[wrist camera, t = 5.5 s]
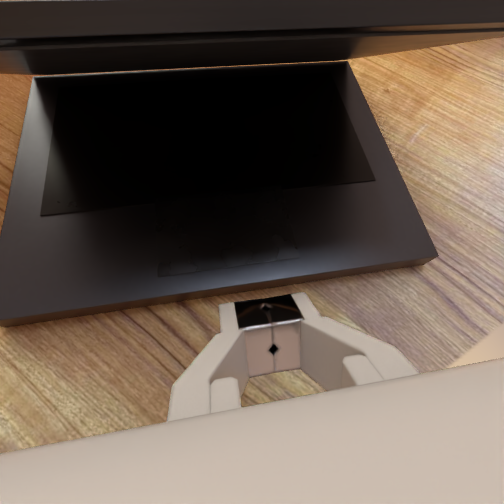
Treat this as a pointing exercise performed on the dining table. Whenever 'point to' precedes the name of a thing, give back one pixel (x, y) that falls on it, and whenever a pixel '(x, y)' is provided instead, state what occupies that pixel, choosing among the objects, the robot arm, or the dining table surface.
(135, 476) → the robot arm
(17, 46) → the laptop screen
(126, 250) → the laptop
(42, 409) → the dining table surface
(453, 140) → the dining table surface
